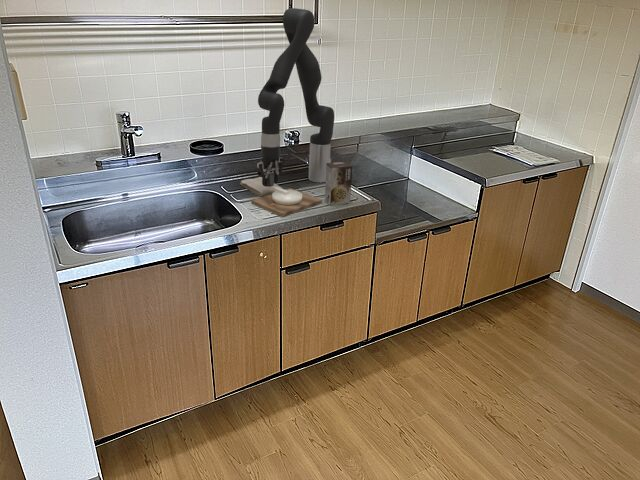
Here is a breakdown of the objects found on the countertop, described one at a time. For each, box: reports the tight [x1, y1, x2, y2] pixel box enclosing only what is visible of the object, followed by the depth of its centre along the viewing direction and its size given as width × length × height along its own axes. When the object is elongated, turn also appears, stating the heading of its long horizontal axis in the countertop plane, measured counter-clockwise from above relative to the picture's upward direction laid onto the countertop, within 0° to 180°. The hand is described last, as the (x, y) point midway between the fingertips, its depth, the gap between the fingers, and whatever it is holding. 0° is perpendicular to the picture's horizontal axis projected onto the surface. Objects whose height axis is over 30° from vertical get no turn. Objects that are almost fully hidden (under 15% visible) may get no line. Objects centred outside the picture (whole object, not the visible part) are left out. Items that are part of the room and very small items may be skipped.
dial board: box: [250, 187, 323, 218], centre depth 209 cm, size 22×18×2 cm
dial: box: [267, 171, 302, 205], centre depth 209 cm, size 18×12×8 cm
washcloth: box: [239, 176, 283, 197], centre depth 224 cm, size 12×18×3 cm, turn 39°
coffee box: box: [324, 161, 353, 206], centre depth 211 cm, size 9×6×16 cm
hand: (270, 184), depth 213 cm, fingers open, 5 cm apart
